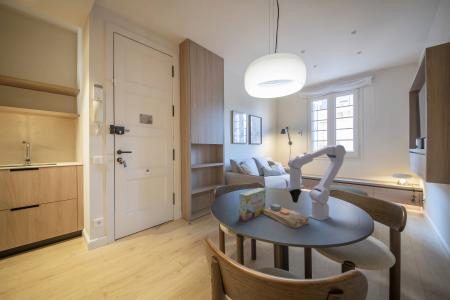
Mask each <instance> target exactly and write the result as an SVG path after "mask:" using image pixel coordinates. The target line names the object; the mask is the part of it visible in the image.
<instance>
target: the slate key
mask: <svg viewBox="0 0 450 300" xmlns="http://www.w3.org/2000/svg"><path fill="white" fill-rule="evenodd" d="M281 207H282V205H280V204H277V203H274V204H270V208H271V210H273V211H275V212H277V211H281Z"/></svg>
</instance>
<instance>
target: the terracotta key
mask: <svg viewBox="0 0 450 300" xmlns="http://www.w3.org/2000/svg"><path fill="white" fill-rule="evenodd" d="M285 209H286V208H284V210H281V211H279V213H280V214H283V215H285V216H286V215H289V212H290V211H287V210H288V209H287V210H285Z"/></svg>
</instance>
